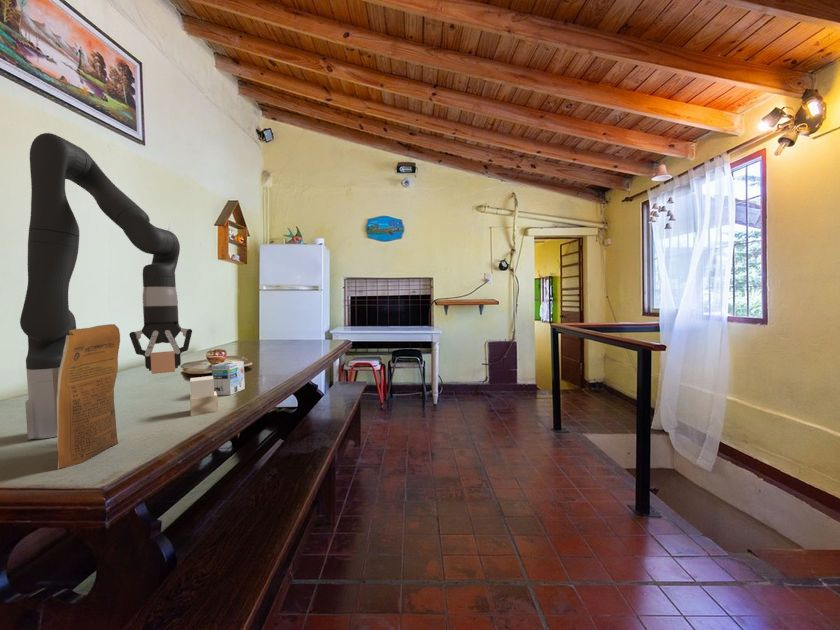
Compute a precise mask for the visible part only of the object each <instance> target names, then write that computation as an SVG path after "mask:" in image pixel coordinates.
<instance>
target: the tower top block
mask: <svg viewBox="0 0 840 630" xmlns="http://www.w3.org/2000/svg"><path fill="white" fill-rule="evenodd" d="M189 379H190V380H189V387H190V388H189V390H190V394H191V399H192V398H200V397H207V396H214V379H213V376H212V375H207V376H201V377H200V376H199V377H198V376H197V377H190V378H189Z"/></svg>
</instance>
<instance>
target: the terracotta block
mask: <svg viewBox="0 0 840 630" xmlns="http://www.w3.org/2000/svg"><path fill="white" fill-rule="evenodd" d="M174 354H175V352H174V350H170V351H159V352H156V351H152V353H151V371H150V372H151V375H156V374H158V375H159V374H167V373H175V372H176V368H175V359H174Z"/></svg>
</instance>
